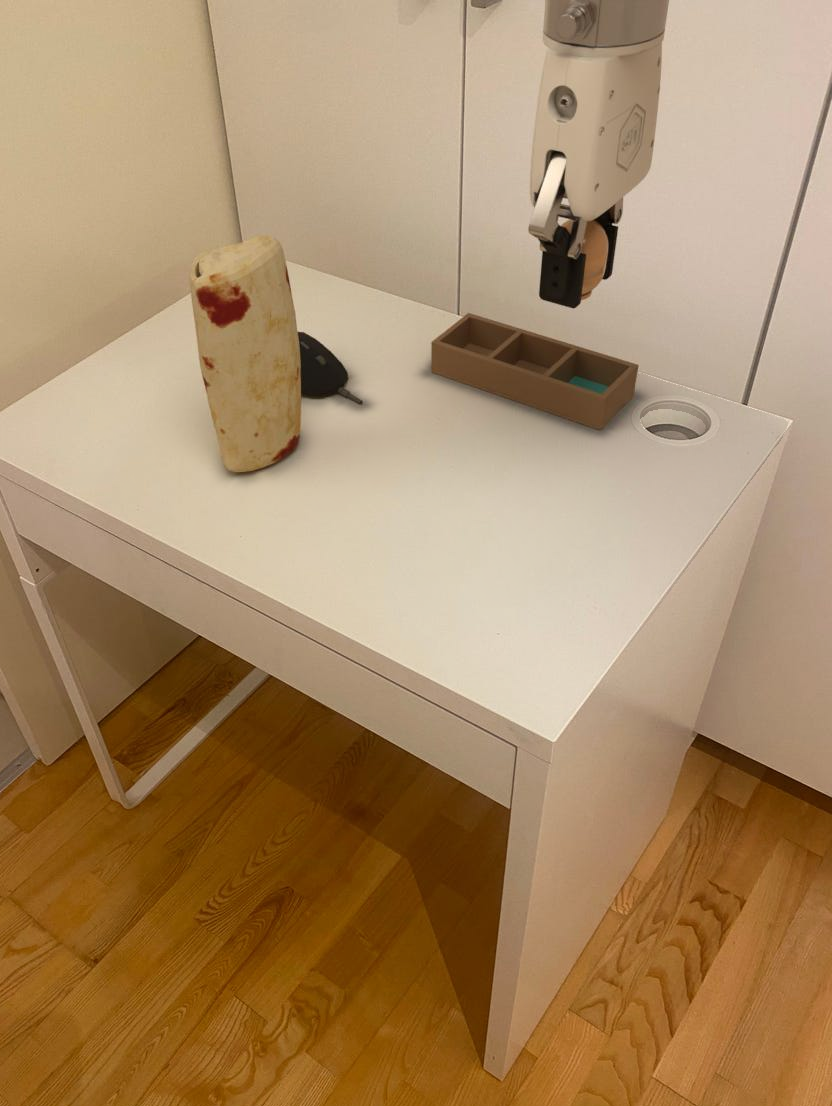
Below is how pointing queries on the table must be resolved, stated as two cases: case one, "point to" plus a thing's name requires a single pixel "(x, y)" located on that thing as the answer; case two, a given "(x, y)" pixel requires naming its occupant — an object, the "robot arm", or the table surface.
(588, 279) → the egg
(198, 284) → the food model
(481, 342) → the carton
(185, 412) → the table surface
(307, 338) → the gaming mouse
